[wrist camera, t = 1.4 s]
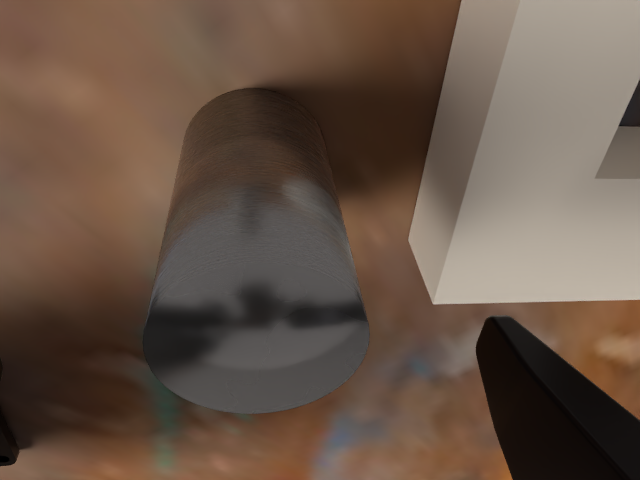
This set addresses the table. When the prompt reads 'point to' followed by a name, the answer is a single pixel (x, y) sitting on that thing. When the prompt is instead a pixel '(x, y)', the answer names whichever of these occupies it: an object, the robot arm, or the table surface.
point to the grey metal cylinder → (254, 264)
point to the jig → (534, 157)
